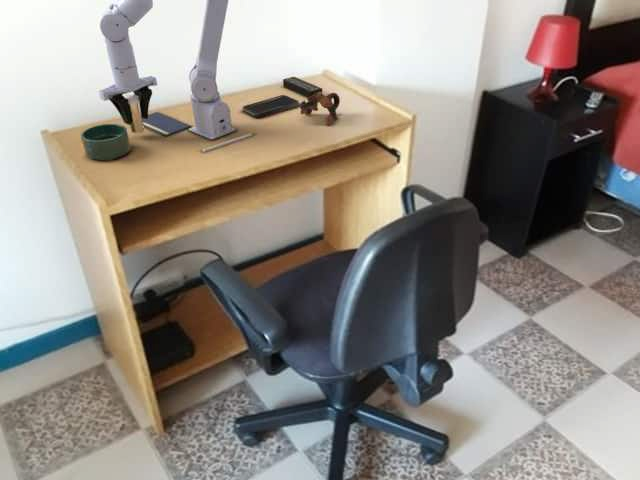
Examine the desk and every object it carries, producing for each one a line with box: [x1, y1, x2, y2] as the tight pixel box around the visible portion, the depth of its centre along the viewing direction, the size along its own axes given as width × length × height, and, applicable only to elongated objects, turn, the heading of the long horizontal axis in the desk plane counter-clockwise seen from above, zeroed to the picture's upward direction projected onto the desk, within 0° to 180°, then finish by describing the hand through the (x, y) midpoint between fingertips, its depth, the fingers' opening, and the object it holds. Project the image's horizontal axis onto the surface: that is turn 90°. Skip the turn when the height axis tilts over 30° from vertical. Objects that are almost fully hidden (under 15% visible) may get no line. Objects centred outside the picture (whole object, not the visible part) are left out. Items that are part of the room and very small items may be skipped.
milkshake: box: [123, 93, 145, 134], centre depth 144 cm, size 4×5×10 cm
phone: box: [242, 94, 300, 119], centre depth 164 cm, size 8×1×15 cm
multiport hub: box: [282, 76, 323, 99], centre depth 175 cm, size 4×14×2 cm, turn 41°
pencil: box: [202, 133, 253, 153], centre depth 146 cm, size 1×1×15 cm
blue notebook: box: [143, 111, 192, 137], centre depth 155 cm, size 15×8×1 cm, turn 51°
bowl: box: [80, 123, 132, 161], centre depth 139 cm, size 10×10×5 cm
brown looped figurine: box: [298, 91, 341, 126], centre depth 158 cm, size 12×10×8 cm
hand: (136, 120), depth 145 cm, fingers closed on milkshake, 4 cm apart
